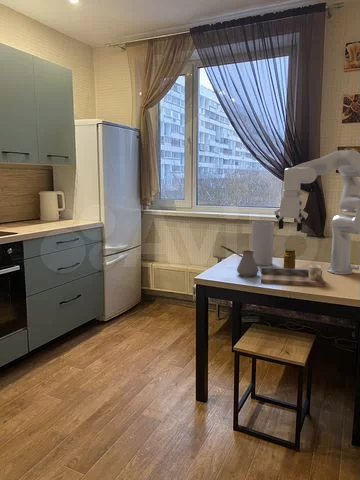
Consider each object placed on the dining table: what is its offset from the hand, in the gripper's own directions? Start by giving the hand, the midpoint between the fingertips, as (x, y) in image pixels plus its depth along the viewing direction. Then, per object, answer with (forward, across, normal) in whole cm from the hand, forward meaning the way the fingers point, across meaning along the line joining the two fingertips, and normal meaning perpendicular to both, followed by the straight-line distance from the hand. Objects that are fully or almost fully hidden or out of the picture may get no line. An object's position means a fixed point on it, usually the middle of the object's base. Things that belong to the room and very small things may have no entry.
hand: (289, 229), depth 177 cm
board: (+27, 0, -4) cm, 27 cm away
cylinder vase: (+27, +32, -25) cm, 48 cm away
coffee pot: (+27, +27, +4) cm, 39 cm away
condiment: (+27, +11, -22) cm, 36 cm away
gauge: (+25, -9, -10) cm, 28 cm away
